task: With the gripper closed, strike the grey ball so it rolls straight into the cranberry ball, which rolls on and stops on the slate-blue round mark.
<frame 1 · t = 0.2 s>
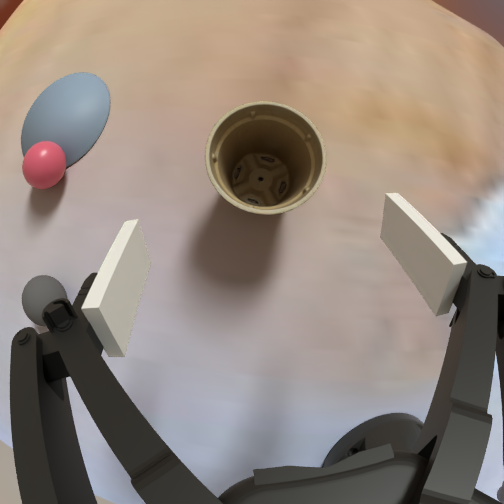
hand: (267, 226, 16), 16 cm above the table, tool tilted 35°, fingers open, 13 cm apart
flower pot: (260, 181, 32), on the table
grey ball: (44, 300, 28), on the table
cranberry ball: (44, 165, 28), on the table
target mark: (62, 119, 31), on the table
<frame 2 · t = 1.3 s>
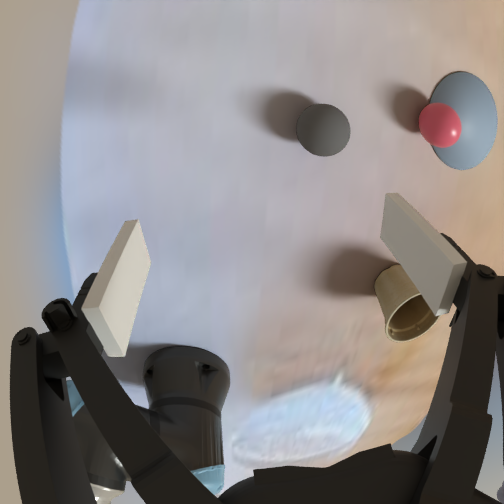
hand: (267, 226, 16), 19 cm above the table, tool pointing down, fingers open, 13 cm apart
flower pot: (390, 280, 45), on the table
grey ball: (323, 130, 30), on the table
cranberry ball: (440, 125, 30), on the table
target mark: (465, 121, 32), on the table
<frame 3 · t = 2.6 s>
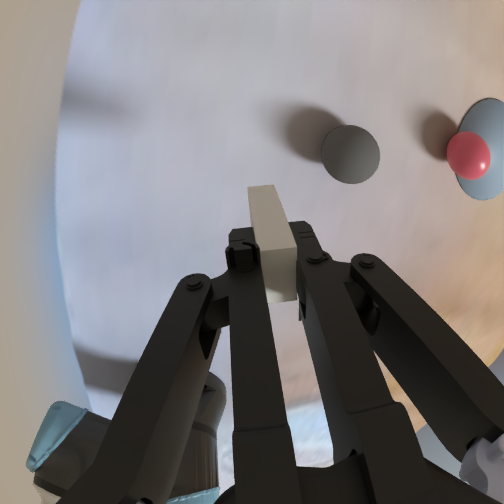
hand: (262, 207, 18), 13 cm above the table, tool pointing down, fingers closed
grey ball: (350, 154, 27), on the table
cranberry ball: (468, 155, 27), on the table
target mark: (491, 151, 30), on the table
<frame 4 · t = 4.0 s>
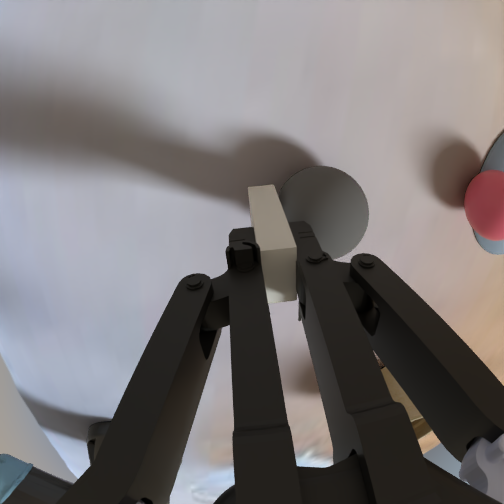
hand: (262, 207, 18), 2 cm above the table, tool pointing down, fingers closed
flower pot: (382, 376, 34), on the table
grey ball: (322, 213, 18), on the table, touching gripper
cranberry ball: (495, 205, 19), on the table
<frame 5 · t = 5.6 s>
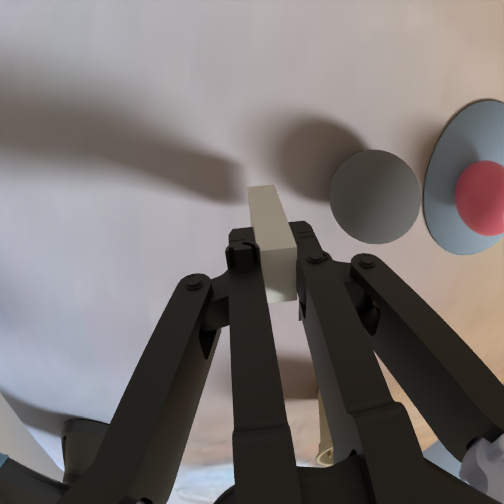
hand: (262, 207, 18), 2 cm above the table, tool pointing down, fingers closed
flower pot: (342, 384, 33), on the table
grey ball: (375, 196, 17), on the table
cranberry ball: (487, 198, 18), on the table
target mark: (487, 182, 20), on the table
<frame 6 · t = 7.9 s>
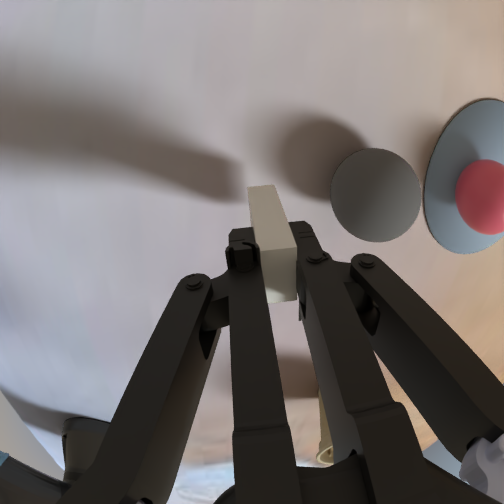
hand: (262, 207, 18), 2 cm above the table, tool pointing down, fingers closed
flower pot: (342, 383, 33), on the table
grey ball: (376, 195, 17), on the table
cranberry ball: (488, 197, 18), on the table
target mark: (487, 181, 20), on the table
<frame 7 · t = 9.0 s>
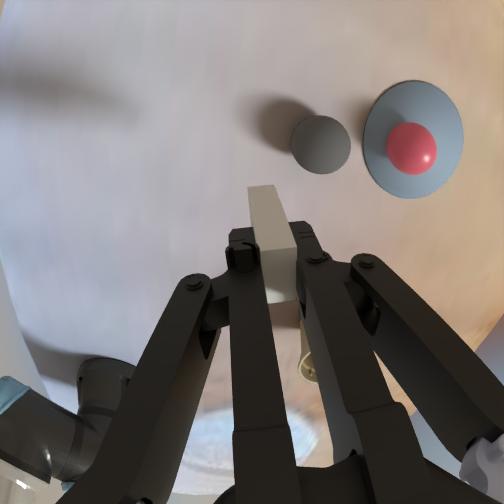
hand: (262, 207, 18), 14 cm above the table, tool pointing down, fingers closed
flower pot: (320, 314, 43), on the table
grey ball: (320, 144, 27), on the table
cranberry ball: (411, 148, 28), on the table
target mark: (418, 141, 30), on the table
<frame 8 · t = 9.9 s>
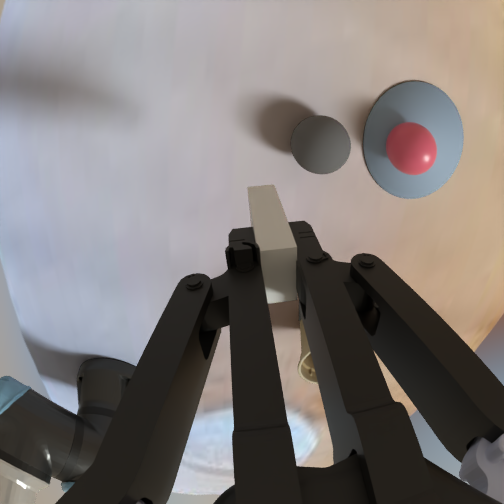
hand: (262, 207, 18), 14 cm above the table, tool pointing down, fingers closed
flower pot: (319, 314, 43), on the table
grey ball: (320, 144, 27), on the table
cranberry ball: (411, 148, 28), on the table
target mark: (418, 141, 30), on the table
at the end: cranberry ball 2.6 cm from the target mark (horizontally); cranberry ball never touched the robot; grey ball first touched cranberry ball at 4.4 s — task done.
